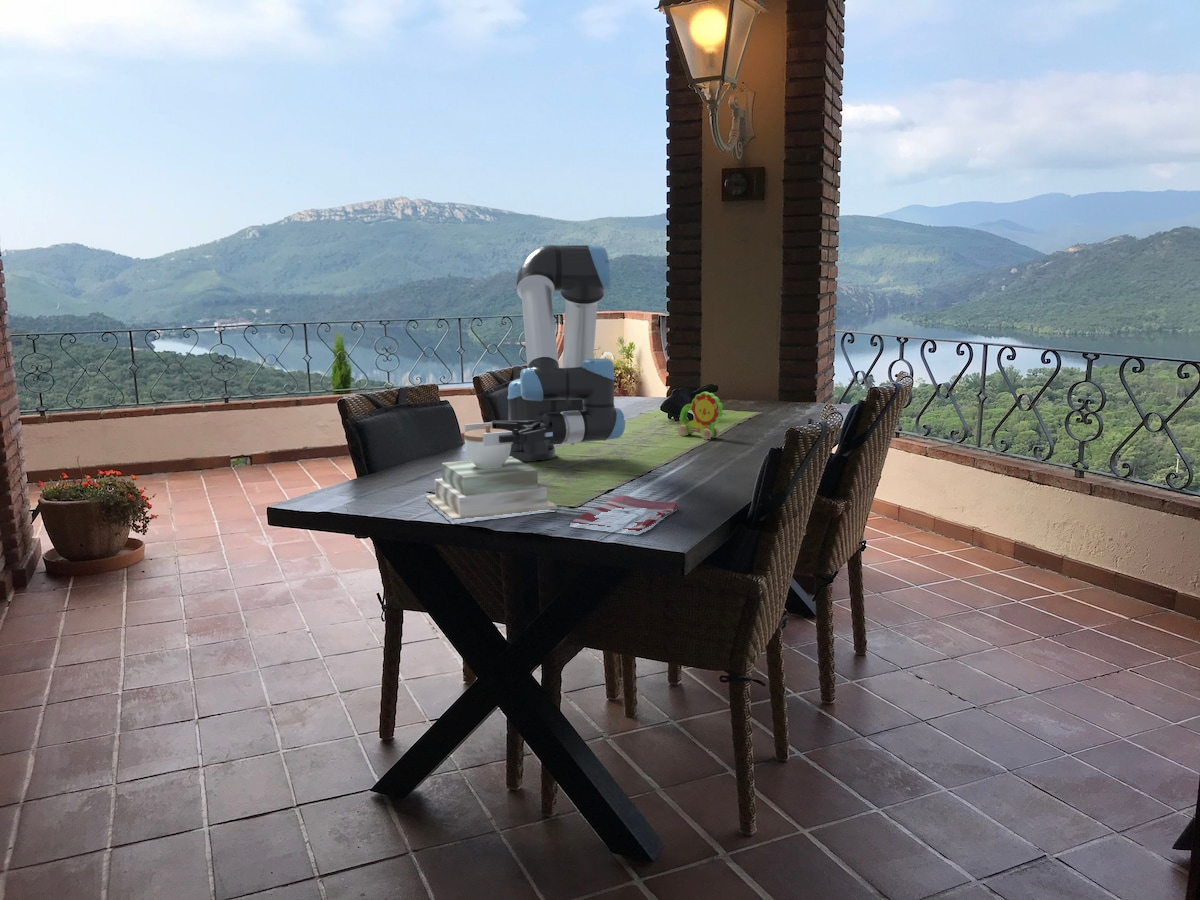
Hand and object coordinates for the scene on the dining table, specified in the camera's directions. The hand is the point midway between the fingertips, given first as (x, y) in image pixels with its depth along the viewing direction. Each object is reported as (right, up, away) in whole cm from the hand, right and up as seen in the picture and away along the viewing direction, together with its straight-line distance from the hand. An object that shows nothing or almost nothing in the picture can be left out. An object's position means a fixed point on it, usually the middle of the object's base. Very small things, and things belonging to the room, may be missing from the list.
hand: (473, 434), depth 197 cm
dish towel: (+34, -19, -5) cm, 39 cm away
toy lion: (+61, 0, +92) cm, 111 cm away
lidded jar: (+3, -7, +3) cm, 8 cm away
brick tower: (+3, -16, +5) cm, 17 cm away
